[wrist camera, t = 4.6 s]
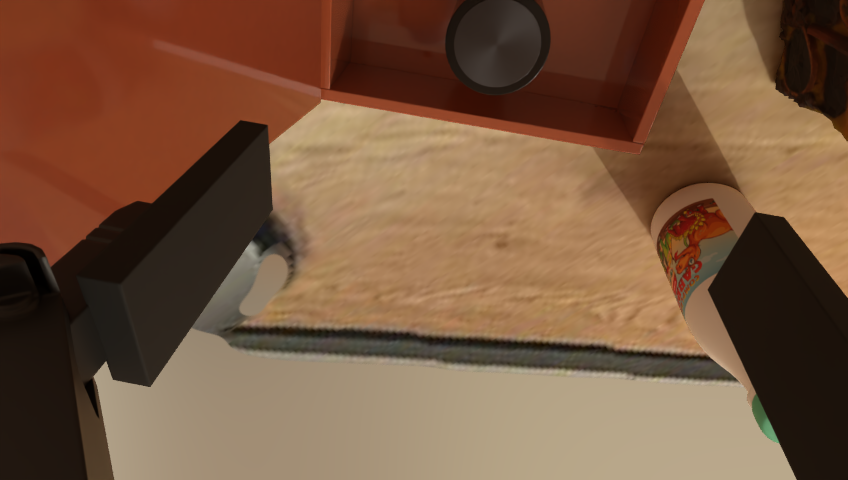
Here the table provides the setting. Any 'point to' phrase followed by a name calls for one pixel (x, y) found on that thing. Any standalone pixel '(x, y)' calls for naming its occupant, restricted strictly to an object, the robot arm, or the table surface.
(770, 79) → the table surface
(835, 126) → the candle
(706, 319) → the milk bottle
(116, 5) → the lid
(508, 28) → the silver-capped dark cylinder
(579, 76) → the reddish-brown box
